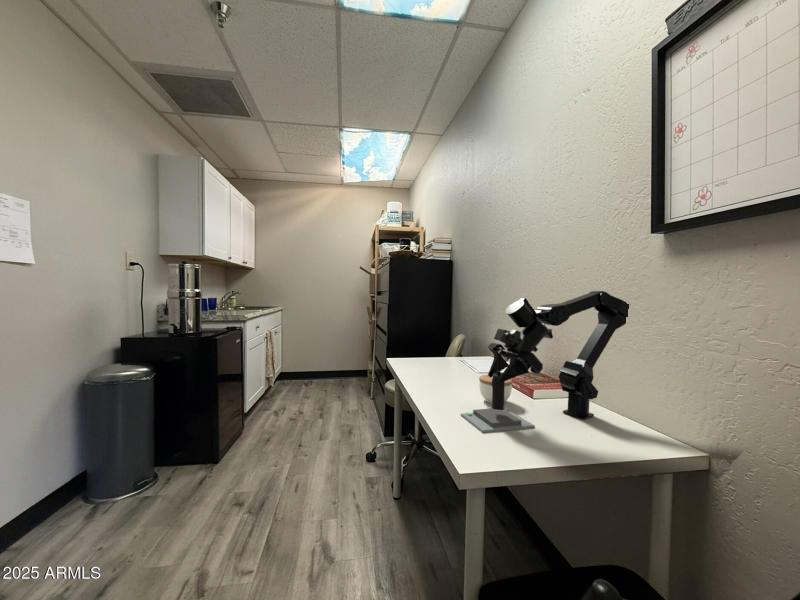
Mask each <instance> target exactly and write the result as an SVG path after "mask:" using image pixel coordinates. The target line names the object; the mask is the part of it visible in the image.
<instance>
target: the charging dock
mask: <svg viewBox="0 0 800 600" xmlns="http://www.w3.org/2000/svg"><path fill="white" fill-rule="evenodd" d="M460 416H461V418H463V419H465V421H467V422H469V424H471V425H472V426H473V427H475V428H476V429H477V430H478V431H479V432H481V433H492V432H493V433H494V432H502V431H513V430H514V429H515V430H521V429H522V430H524V429H523V428H525V429H533V427H535V428H536V425H534V424H533V423H532V422H530V421H528V420H526V419H525V418H523V417H521V416H519V415H518V414H516V413H514V412H512V411H510V410H509V409H504V410H496V409H493V408H492V407H491V408H481V409H472V412H464V413H463V412H462V413H460Z"/></svg>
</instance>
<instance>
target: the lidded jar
mask: <svg viewBox="0 0 800 600" xmlns="http://www.w3.org/2000/svg"><path fill="white" fill-rule="evenodd" d="M478 379H479V383H478V384H479V385H478V386H479V391H480V395H481V397H482V398H483V399H484V401H485V400H486V401H487V403H488V402H490V403H489V404H492V379H493V376H492V377H489V376H488V374H482V375H479V377H478ZM512 387H513V378H511V379H509V380H507V381H505V383H504V403H505V402H506V401H507V400H508V399H510V396H511V394H512V389H513V388H512ZM486 401H485V402H486Z"/></svg>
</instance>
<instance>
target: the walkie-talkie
mask: <svg viewBox="0 0 800 600" xmlns="http://www.w3.org/2000/svg"><path fill="white" fill-rule="evenodd" d="M500 357H501V354H500V353H498V361H497V373H493V379H492V403H491V408H493V409H496V410H505V402H504V383H505V381H504V382H500V381H499V378H500V376H501V375H502V373H503V372H502V371H500Z"/></svg>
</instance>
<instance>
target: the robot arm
mask: <svg viewBox="0 0 800 600" xmlns="http://www.w3.org/2000/svg"><path fill="white" fill-rule="evenodd" d="M626 302H627V301H625V300H623V299H621V298H619V297H616V296H613V295H611V294H610V293H608V292H607V291H604V290H592V291H590V292H588V293H586V294H582V295H581V296H577V297H574V298H572V299H569V300H566V301H564V302H559V303H548V304H541V305H539V306H538V307H536V309H535V308H534V307H533V306H532V305H531V304H530V302H529V300H528V299H527V298H523V297H521V298H520V299H519V300H517V301H514V302H513V303H511V304H509V305H508V306H507V307H506V309H505V313H506V315H507V316H508V317H509V318H510V319H511V320H512V322H513V323H514V324H515V325H516V326H517V328H522V330H521V331H519V330H517V329H511V330H507V329H504V328H497V330H496V332H495V335H494V337H493V339H494V340H496V341H499V342H501V343H503V344H501V343H498V342H490V344H489V345H488V346H487V349H488V350H489V352H490V353H491V354H492V355H493V360H492V363H491V366H490V368H489V371H488V374H487V375H488V376H489V377H492V376H493V373H497V361H498V353H500V354H501V357H500V372H501V373H502V375H501V376H500V378H499V381H500V382H504V381H507V380H509V379H513V378H516V377H519V376H522V375H525V374H529V373H533V374H535V375H540V373H541V372H542V371H543V369H544V367H543V366H544V364H543V363H542V361H541V360H540V359H539V358H538V357H537V355H535V353H536V352H537V351H538V350H539V349H538V347H537V346H539V344H540V343H541V342H542V341H543V339H545V338H546V339H550V340H552V339H553V338H554V336H553V330H552V328H548V327H547V326H554V327H558V326H561V325H562V324H564V323H566V322H567V321H568V320H569V319H570V317H572V316H574V315H576V314H579V313H582V312H585V311H587V310H589V309H592V308H594V310H595V311H597V312H598V313H597V321H598V322H597V325H596V326H595V327H594V329H593V331H592V332H591V334H590V336H589V337H588V339H587V341H586V343H585V344H584V345H583V348H582V349H581V350H580V353H579V354H578V355H577V357H576V358H575V360H573V361H569V360H566V361H565V362H564V363H563V365H562V367H561V369H559V371H558V372H559V375H558V379H559V383H560V387H561V390H562V391H563V392H566V393H568V397H567V398H568V399H567V409H565V410H562V413H563V414H566V415H568V416H571V417H574V418H578V419H581V420H586V419H589V418H591V417H594V416H595V414H594V413H593V412H590V400H594V399H597V398H598V395H599V390H598V389H597V388H596V386H595V385H594V384H593V380H594V367H595V365H596V363H597V361H599V359H600V356H601V355H602V354H603V352H604V350H605V348H606V347H607V345H608V343H609V342H610V340H611V338H612V336H613V334H614V333H615V332H616V331H617V330H618V329H620V328H621V327H623V326H625V325H626V324H627V323H626V317H628V309H629V304H627V303H626ZM546 325H547V326H546ZM533 352H534V353H533ZM508 361H509V363H508ZM529 370H530V371H529ZM502 371H503V372H502Z"/></svg>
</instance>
